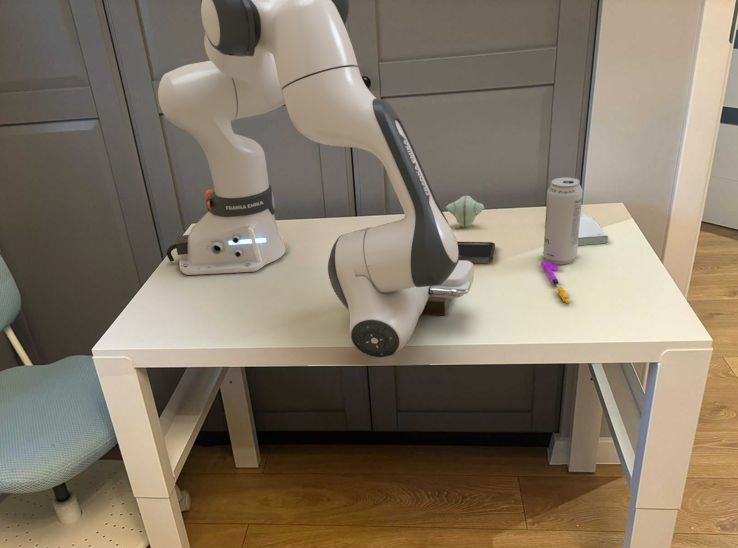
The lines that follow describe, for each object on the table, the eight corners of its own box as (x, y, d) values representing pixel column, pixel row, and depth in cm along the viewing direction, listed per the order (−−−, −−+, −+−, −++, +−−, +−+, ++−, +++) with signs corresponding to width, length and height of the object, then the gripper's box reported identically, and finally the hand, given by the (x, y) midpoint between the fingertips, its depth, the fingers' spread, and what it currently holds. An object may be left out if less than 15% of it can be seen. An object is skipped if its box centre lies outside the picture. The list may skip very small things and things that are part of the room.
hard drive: (608, 235, 138) (589, 212, 148) (565, 238, 138) (549, 216, 149) (607, 243, 138) (588, 220, 149) (564, 246, 139) (549, 223, 150)
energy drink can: (546, 251, 138) (551, 175, 130) (578, 254, 135) (585, 176, 128) (540, 264, 133) (545, 186, 126) (573, 267, 131) (580, 187, 123)
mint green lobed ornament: (445, 230, 152) (445, 199, 149) (447, 223, 156) (447, 193, 152) (483, 230, 150) (484, 199, 147) (485, 223, 153) (485, 192, 150)
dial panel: (444, 315, 120) (444, 301, 118) (381, 310, 123) (380, 297, 122) (459, 279, 131) (459, 266, 130) (401, 276, 135) (400, 263, 133)
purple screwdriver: (539, 264, 132) (563, 304, 119) (541, 258, 132) (565, 298, 118) (553, 266, 132) (578, 306, 119) (555, 260, 132) (580, 300, 118)
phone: (420, 240, 145) (495, 242, 141) (420, 246, 146) (495, 247, 141) (413, 256, 139) (492, 258, 134) (413, 261, 139) (492, 263, 135)
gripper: (467, 276, 108) (481, 241, 119) (339, 269, 114) (363, 236, 125) (467, 313, 111) (480, 275, 122) (342, 304, 118) (366, 269, 129)
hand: (420, 255), depth 124 cm, fingers open, 8 cm apart
